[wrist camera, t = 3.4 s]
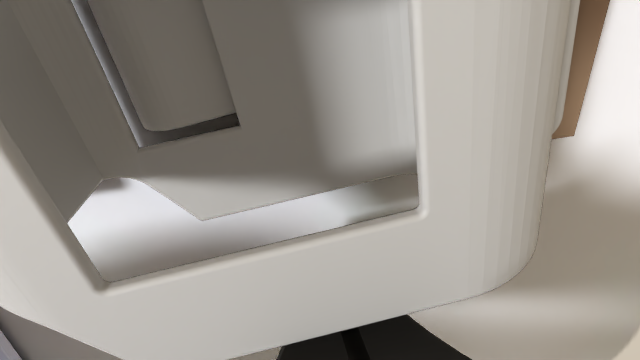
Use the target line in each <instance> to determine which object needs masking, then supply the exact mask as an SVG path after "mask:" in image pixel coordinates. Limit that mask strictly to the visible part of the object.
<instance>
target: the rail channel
mask: <svg viewBox="0 0 640 360" xmlns="http://www.w3.org/2000/svg"><path fill="white" fill-rule="evenodd" d="M609 2H610V0H580V5H579V12H578V18H577V25H576V32H575V38H574V45H573V52H572V58H571V65H570V72H569V78H568V85H567V92H566V98H565V105H564V112H563V117H562V120H561V123H560V125H559V127H558V128H557V130H556V131H555V132H554V133H553V134H552V139H556V138H563V137H569V136H574V134H575V130H576V126H577V122H578V118H579V115H580V111H581V107H582V103H583V100H584V96H585V92H586V88H587V85H588V81H589V77H590V73H591V70H592V66H593V62H594V58H595V54H596V51H597V47H598V43H599V39H600V36H601V32H602V28H603V24H604V21H605V17H606V13H607V9H608V5H609Z"/></svg>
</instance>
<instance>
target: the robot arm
mask: <svg viewBox="0 0 640 360" xmlns="http://www.w3.org/2000/svg"><path fill="white" fill-rule="evenodd" d="M0 360H22V359H21V358H20V356H19V355H18V354H17V352H16V351H15V349H14V348H13V347H12V345H11V344H10V343H9V341H8V340H7V338H6V337H5V336H4V334H3V333H2V331H1V330H0ZM277 360H472V359H470V358H469V357H467V356H465V355H463V354H462V353H460V352H459V351H457V350H456V349H454V348H453V347H451V346H450V345H448V344H447V343H445V342H444V341H442V340H441V339H439V338H438V337H436V336H435V335H433V334H432V333H430V332H429V331H428V330H426V329H425V328H424V327H422V326H421V325H420V324H418V323H417V322H416V321H415V320H413V319H412V318H411V317H410V316H408V315H407V314H406V315H402V316H398V317H394V318H390V319H386V320H382V321H378V322H374V323H371V324H367V325H363V326H359V327H355V328H351V329H347V330H343V331H339V332H335V333H331V334H327V335H323V336H319V337H315V338H311V339H308V340H304V341H300V342H296V343H292V344H288V345H284V346H282V348H281V350H280V353H279V355H278V357H277Z"/></svg>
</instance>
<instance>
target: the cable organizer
mask: <svg viewBox="0 0 640 360" xmlns="http://www.w3.org/2000/svg"><path fill="white" fill-rule="evenodd" d="M87 2H88V4H89V6H90V9H91V11H92V13H93V15H94V17H95V20H96V22H97V24H98V26H99V29H100V31H101V33H102V35H103V38H104V40H105V42H106V44H107V47H108V49H109V51H110V53H111V56H112V58H113V60H114V62H115V65H116V67H117V69H118V71H119V74H120V76H121V78H122V80H123V83H124V85H125V87H126V89H127V92H128V94H129V96H130V98H131V101H132V103H133V105H134V107H135V110H136V112H137V114H138V116H139V119H140V121H141V123H142V125H143V127H144V128H145V129H147V130H150V131H166V130H172V129H177V128H181V127H185V126H189V125H193V124H196V123H200V122H204V121H207V120H211V119H215V118H218V117H222V116H226V115H230V114H233V113H237V116H238V120H239V123H240V125H239V126H235V127H230V128H226V129H221V130H217V131H212V132H208V133H204V134H199V135H195V136H190V137H186V138H181V139H177V140H172V141H168V142H164V143H159V144H155V145H150V146H146V147H141V148H139V146H138V144H137V142H136V139H135V137H134V135H133V133H132V131H131V129H130V126H129V124H128V122H127V120H126V118H125V116H124V114H123V111H122V109H121V107H120V105H119V103H118V101H117V99H116V96H115V94H114V92H113V90H112V88H111V86H110V83H109V81H108V79H107V77H106V75H105V73H104V70H103V68H102V66H101V64H100V62H99V60H98V58H97V55H96V53H95V51H94V49H93V47H92V45H91V42H90V40H89V38H88V36H87V34H86V32H85V30H84V27H83V25H82V23H81V21H80V19H79V17H78V14H77V12H76V10H75V8H74V6H73V4H72V2H71V0H0V306H1V307H2V308H4V309H6V310H8V311H9V312H11V313H13V314H16V315H18V316H20V317H22V318H25V319H27V320H30V321H32V322H35V323H37V324H40V325H42V326H45V327H47V328H50V329H52V330H55V331H57V332H59V333H62V334H64V335H66V336H68V337H71V338H73V339H75V340H78V341H80V342H82V343H85V344H87V345H90V346H92V347H94V348H97V349H99V350H101V351H104V352H106V353H108V354H111V355H113V356H116V357H118V358H120V359H123V360H229V359H233V358H237V357H241V356H245V355H249V354H252V353H256V352H260V351H264V350H268V349H272V348H276V347H280V346H284V345H288V344H292V343H296V342H300V341H304V340H308V339H311V338H315V337H319V336H323V335H327V334H331V333H335V332H339V331H343V330H347V329H351V328H355V327H359V326H363V325H367V324H371V323H374V322H378V321H382V320H386V319H390V318H394V317H398V316H402V315H406V314H410V313H414V312H418V311H422V310H426V309H430V308H433V307H437V306H441V305H445V304H449V303H453V302H457V301H461V300H465V299H469V298H472V297H475V296H478V295H482V294H484V293H486V292H489V291H491V290H494V289H496V288H497V287H499V286H501V285H503V284H505V283H506V282H508V281H509V280H510V279H512V278H513V277H514V276H516V275H517V274H518V273H519V272H520V271H521V270H522V269H523V268H524V267H525V266H526V264H527V263H528V262H529V260H530V259H531V257H532V255H533V253H534V251H535V248H536V244H537V240H538V233H539V225H540V218H541V211H542V204H543V196H544V189H545V182H546V175H547V167H548V160H549V153H550V146H551V139H552V134H553V133H554V132H555V131H556V130H557V128H558V127H559V125H560V123H561V120H562V117H563V112H564V105H565V98H566V92H567V85H568V78H569V72H570V65H571V58H572V52H573V45H574V38H575V32H576V25H577V18H578V12H579V5H580V0H87ZM405 174H418V191H419V205H418V207H417V208H415V209H413V210H409V211H405V212H401V213H397V214H392V215H388V216H384V217H380V218H376V219H372V220H367V221H363V222H359V223H355V224H351V225H347V226H343V227H338V228H334V229H330V230H326V231H322V232H318V233H314V234H309V235H305V236H301V237H297V238H293V239H289V240H284V241H280V242H276V243H272V244H268V245H264V246H260V247H255V248H251V249H247V250H243V251H239V252H235V253H231V254H226V255H222V256H218V257H214V258H210V259H206V260H202V261H197V262H193V263H189V264H185V265H181V266H177V267H172V268H168V269H164V270H160V271H156V272H152V273H148V274H143V275H139V276H135V277H131V278H127V279H123V280H119V281H114V282H108V281H105V280H103V279H102V277H101V276H100V274H99V272H98V271H97V269H96V268H95V266H94V265H93V263H92V262H91V260H90V258H89V257H88V255H87V254H86V252H85V251H84V249H83V248H82V246H81V244H80V243H79V241H78V240H77V238H76V237H75V235H74V233H73V232H72V230H71V229H70V227H69V226H68V224H67V223H68V222H69V220H70V219H71V218H72V217H73V216H74V214H75V213H76V212H77V211H78V210H79V208H80V207H81V206H82V205H83V204H84V202H85V201H86V200H87V199H88V198H89V196H90V195H91V194H92V193H93V192H94V190H95V189H96V188H97V187H98V185H99V184H100V183H101V182H102V181H103V180H107V179H111V178H121V177H122V178H131V179H135V180H138V181H141V182H143V183H145V184H147V185H148V186H150V187H151V188H153V189H154V190H156V191H157V192H159V193H160V194H162V195H163V196H165V197H166V198H168V199H169V200H171V201H172V202H174V203H175V204H177V205H178V206H180V207H181V208H183V209H184V210H186V211H187V212H189V213H190V214H192V215H193V216H195V217H196V218H198V219H199V220H201V221H205V220H209V219H213V218H217V217H221V216H226V215H230V214H234V213H238V212H243V211H247V210H251V209H255V208H260V207H264V206H268V205H272V204H276V203H281V202H285V201H289V200H293V199H298V198H302V197H306V196H310V195H315V194H319V193H323V192H327V191H332V190H336V189H340V188H344V187H348V186H353V185H357V184H361V183H365V182H370V181H374V180H378V179H382V178H387V177H392V176H398V175H405Z"/></svg>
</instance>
